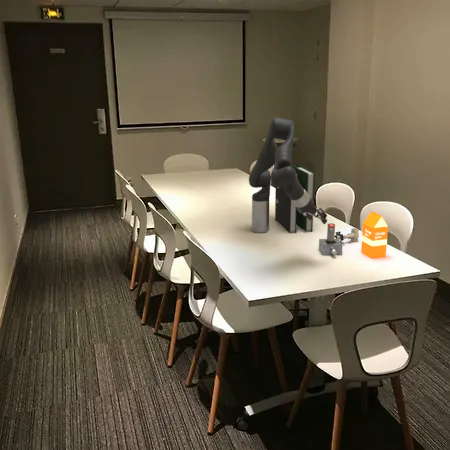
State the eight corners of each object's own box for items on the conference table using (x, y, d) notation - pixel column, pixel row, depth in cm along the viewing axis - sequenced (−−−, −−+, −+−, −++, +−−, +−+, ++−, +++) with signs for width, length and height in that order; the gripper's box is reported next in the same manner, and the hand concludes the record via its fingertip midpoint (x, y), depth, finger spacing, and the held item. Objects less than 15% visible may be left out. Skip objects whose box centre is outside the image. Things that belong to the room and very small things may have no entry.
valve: (353, 239, 249) (334, 242, 244) (354, 226, 247) (334, 229, 243) (361, 242, 243) (341, 246, 239) (362, 230, 241) (342, 233, 237)
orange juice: (371, 258, 221) (374, 216, 216) (360, 252, 229) (363, 211, 224) (386, 256, 223) (389, 215, 218) (375, 250, 232) (378, 210, 226)
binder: (313, 231, 261) (316, 173, 252) (287, 233, 259) (288, 174, 250) (298, 218, 287) (299, 164, 278) (273, 219, 285) (274, 165, 276)
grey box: (324, 258, 223) (325, 247, 221) (318, 248, 235) (319, 239, 234) (344, 257, 223) (344, 247, 221) (337, 248, 235) (337, 238, 234)
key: (327, 251, 229) (328, 225, 225) (325, 248, 232) (327, 223, 229) (334, 250, 229) (335, 225, 225) (332, 248, 232) (334, 223, 229)
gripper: (319, 195, 205) (334, 217, 216) (294, 190, 216) (310, 210, 226) (310, 210, 204) (326, 230, 214) (285, 204, 214) (302, 224, 224)
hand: (318, 220), depth 220 cm, fingers open, 8 cm apart
